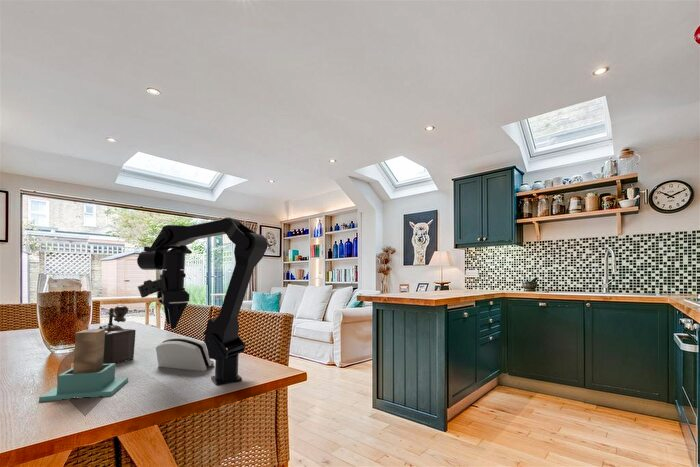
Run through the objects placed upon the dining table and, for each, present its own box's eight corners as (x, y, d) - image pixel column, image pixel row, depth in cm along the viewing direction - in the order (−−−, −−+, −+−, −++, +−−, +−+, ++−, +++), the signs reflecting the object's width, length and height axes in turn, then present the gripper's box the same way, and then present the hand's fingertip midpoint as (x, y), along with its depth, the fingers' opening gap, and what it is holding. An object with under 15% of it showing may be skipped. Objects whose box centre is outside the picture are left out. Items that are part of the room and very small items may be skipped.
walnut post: (101, 382, 88) (105, 328, 90) (94, 388, 84) (97, 331, 85) (80, 384, 87) (84, 329, 88) (71, 390, 83) (75, 332, 84)
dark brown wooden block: (76, 365, 108) (80, 304, 110) (110, 356, 119) (113, 301, 121) (116, 368, 104) (120, 306, 106) (147, 359, 115) (150, 302, 116)
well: (127, 381, 92) (129, 361, 93) (111, 395, 82) (112, 373, 82) (64, 385, 89) (66, 365, 89) (38, 401, 78) (40, 378, 79)
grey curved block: (215, 366, 106) (209, 336, 104) (205, 376, 102) (198, 344, 100) (170, 362, 111) (163, 333, 109) (159, 371, 107) (151, 341, 105)
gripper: (138, 270, 105) (135, 324, 103) (142, 270, 89) (139, 334, 88) (180, 269, 111) (178, 321, 109) (190, 270, 95) (188, 329, 94)
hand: (170, 326), depth 100 cm, fingers open, 9 cm apart
